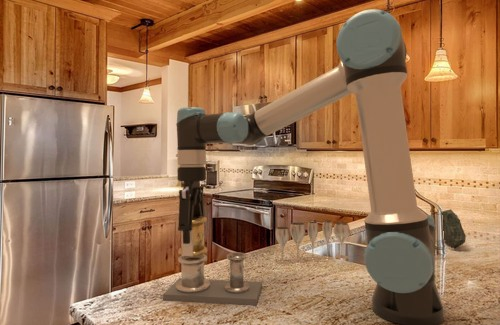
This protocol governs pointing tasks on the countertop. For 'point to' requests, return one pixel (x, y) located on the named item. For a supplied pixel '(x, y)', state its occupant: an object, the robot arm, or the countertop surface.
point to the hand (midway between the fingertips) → (192, 251)
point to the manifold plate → (217, 294)
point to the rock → (452, 229)
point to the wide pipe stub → (192, 274)
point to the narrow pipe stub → (236, 274)
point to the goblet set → (311, 237)
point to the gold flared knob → (197, 236)
